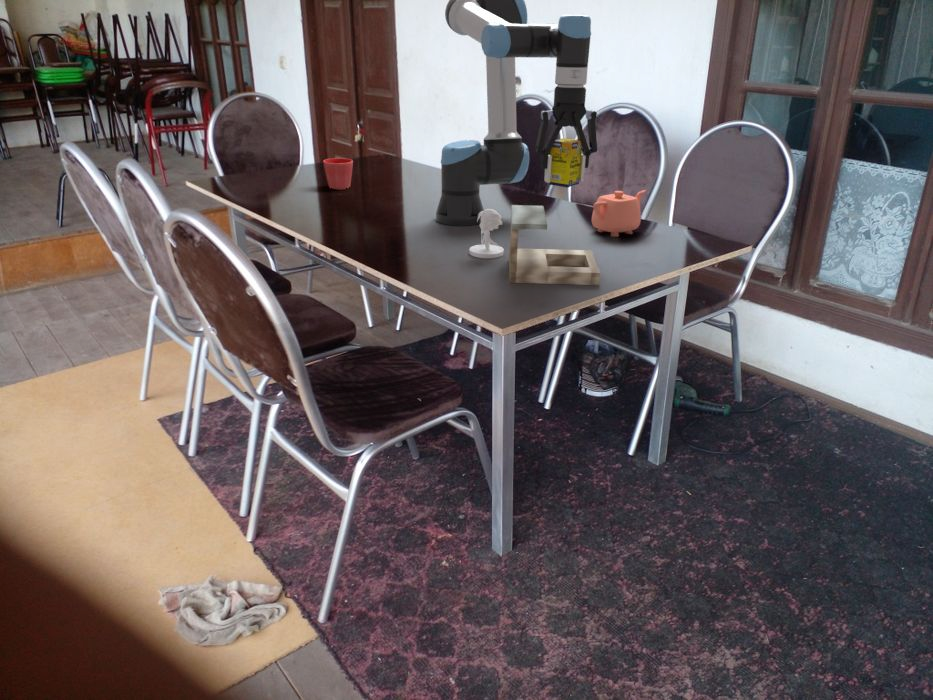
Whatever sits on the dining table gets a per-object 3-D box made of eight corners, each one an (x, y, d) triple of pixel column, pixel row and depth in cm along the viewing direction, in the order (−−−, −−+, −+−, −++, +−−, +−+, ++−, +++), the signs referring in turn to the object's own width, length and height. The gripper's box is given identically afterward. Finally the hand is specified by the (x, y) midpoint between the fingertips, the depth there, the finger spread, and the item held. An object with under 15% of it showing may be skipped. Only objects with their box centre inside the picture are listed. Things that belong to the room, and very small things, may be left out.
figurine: (468, 248, 191) (468, 204, 186) (501, 248, 191) (502, 204, 186) (471, 258, 182) (471, 213, 177) (505, 258, 183) (507, 212, 178)
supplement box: (568, 188, 175) (571, 142, 170) (547, 184, 178) (550, 140, 173) (579, 184, 179) (583, 140, 174) (559, 181, 182) (562, 137, 178)
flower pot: (360, 186, 261) (359, 159, 256) (340, 191, 252) (338, 164, 248) (339, 183, 266) (337, 156, 262) (318, 188, 257) (316, 161, 253)
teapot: (606, 241, 199) (610, 199, 193) (577, 231, 207) (581, 191, 202) (655, 231, 209) (660, 191, 204) (626, 222, 218) (630, 183, 213)
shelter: (509, 282, 166) (511, 223, 160) (509, 259, 182) (511, 205, 176) (598, 285, 165) (604, 225, 159) (590, 261, 181) (595, 207, 175)
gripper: (532, 87, 164) (527, 185, 173) (617, 87, 167) (608, 183, 176) (524, 84, 170) (520, 179, 180) (606, 84, 174) (598, 177, 183)
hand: (563, 181), depth 178 cm, fingers closed on supplement box, 8 cm apart
